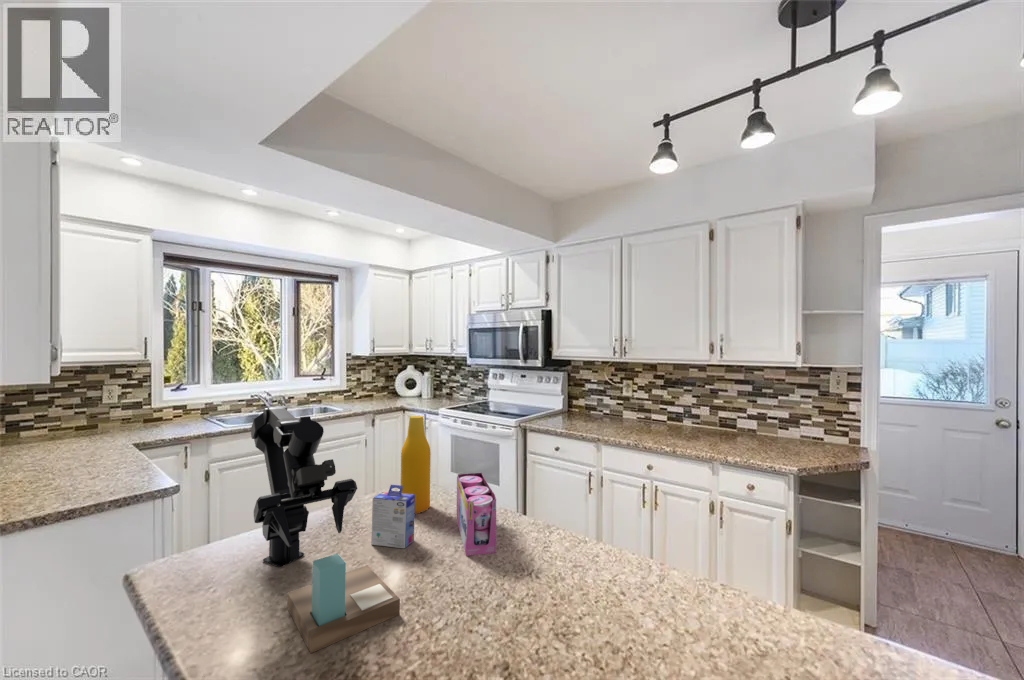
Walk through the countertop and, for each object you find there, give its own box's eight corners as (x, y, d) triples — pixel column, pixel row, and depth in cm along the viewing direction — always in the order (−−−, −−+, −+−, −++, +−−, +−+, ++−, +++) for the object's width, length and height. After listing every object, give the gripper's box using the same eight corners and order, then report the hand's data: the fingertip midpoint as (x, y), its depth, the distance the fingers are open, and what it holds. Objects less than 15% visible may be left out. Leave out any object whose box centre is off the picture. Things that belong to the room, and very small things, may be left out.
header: (287, 607, 83) (287, 591, 83) (367, 578, 93) (367, 564, 93) (310, 653, 71) (311, 634, 71) (399, 614, 81) (399, 597, 81)
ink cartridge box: (415, 539, 112) (416, 485, 112) (406, 549, 107) (406, 492, 107) (381, 536, 114) (382, 482, 114) (370, 545, 109) (371, 489, 109)
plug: (311, 629, 77) (312, 561, 77) (336, 619, 79) (337, 553, 80) (318, 642, 73) (319, 571, 73) (344, 631, 76) (345, 562, 76)
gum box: (498, 556, 104) (498, 501, 104) (466, 559, 102) (466, 503, 102) (482, 517, 127) (482, 472, 127) (455, 519, 125) (456, 473, 126)
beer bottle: (416, 500, 140) (417, 413, 140) (436, 507, 134) (437, 416, 135) (393, 509, 132) (395, 417, 133) (413, 516, 127) (415, 420, 127)
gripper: (257, 455, 81) (268, 533, 72) (354, 441, 93) (374, 506, 85) (249, 486, 87) (259, 561, 78) (341, 469, 99) (359, 532, 90)
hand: (316, 538), depth 83 cm, fingers open, 9 cm apart
